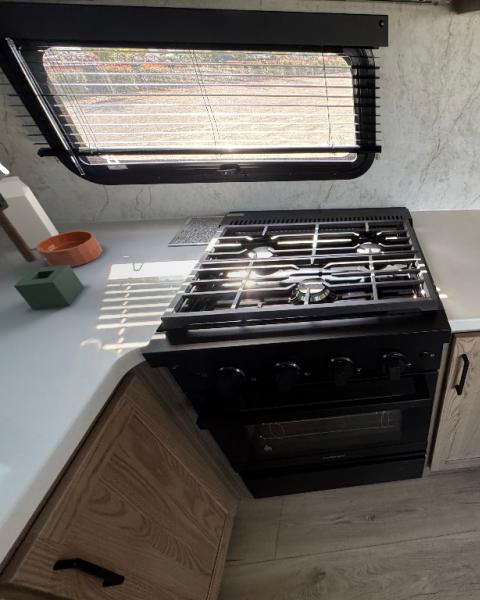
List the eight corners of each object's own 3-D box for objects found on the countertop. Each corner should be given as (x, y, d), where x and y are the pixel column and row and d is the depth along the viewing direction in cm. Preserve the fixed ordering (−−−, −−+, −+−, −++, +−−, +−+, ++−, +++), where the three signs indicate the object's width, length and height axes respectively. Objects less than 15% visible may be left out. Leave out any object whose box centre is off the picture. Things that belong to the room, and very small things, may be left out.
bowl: (39, 272, 90) (25, 254, 86) (63, 250, 99) (51, 232, 95) (92, 267, 92) (81, 249, 89) (110, 246, 101) (100, 229, 98)
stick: (24, 262, 74) (-36, 183, 63) (29, 258, 75) (-29, 180, 65) (34, 261, 74) (-24, 183, 64) (39, 257, 75) (-18, 180, 65)
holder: (34, 311, 78) (13, 286, 73) (51, 292, 83) (32, 268, 79) (71, 307, 79) (52, 282, 75) (85, 288, 85) (69, 264, 80)
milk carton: (58, 244, 101) (15, 180, 89) (26, 251, 98) (-23, 185, 86) (60, 235, 106) (19, 172, 94) (29, 241, 102) (-17, 177, 91)
